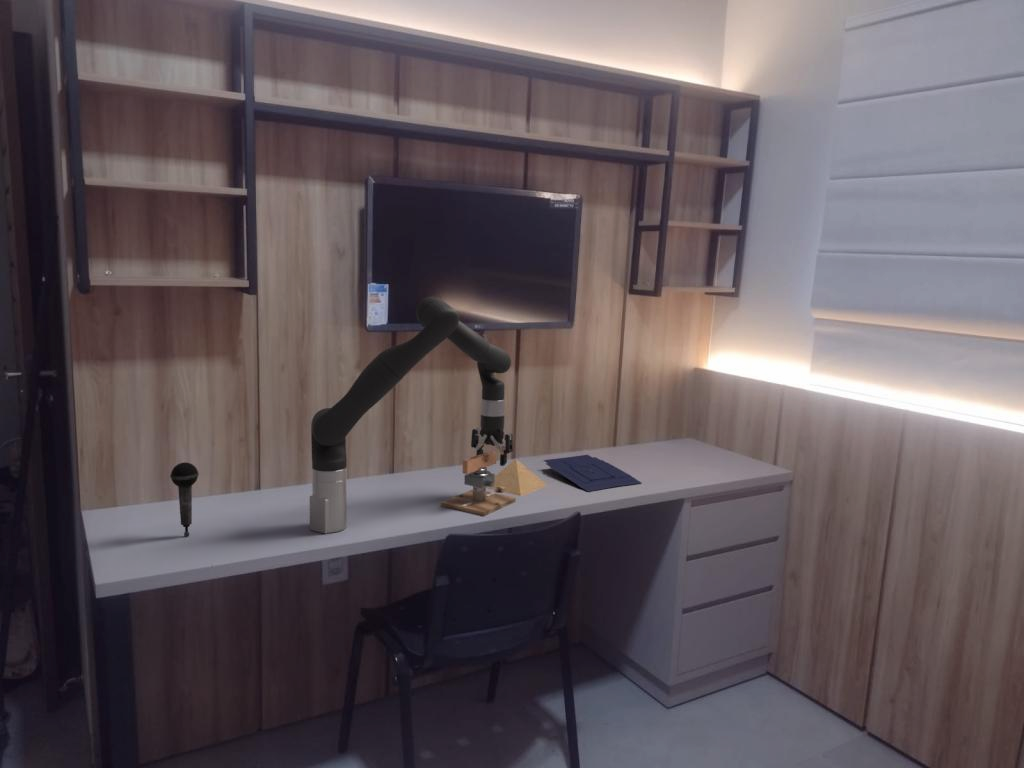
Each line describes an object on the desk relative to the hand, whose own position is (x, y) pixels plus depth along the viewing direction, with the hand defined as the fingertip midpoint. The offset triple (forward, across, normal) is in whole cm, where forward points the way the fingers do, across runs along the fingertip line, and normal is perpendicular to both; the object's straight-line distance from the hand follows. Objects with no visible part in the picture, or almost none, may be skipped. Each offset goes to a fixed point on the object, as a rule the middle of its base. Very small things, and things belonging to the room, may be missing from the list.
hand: (491, 463), depth 236 cm
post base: (+12, 0, +6) cm, 13 cm away
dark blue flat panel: (+12, -14, -43) cm, 47 cm away
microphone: (+12, +46, +76) cm, 90 cm away
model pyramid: (+12, +1, -16) cm, 21 cm away
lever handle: (+5, 0, +7) cm, 8 cm away
